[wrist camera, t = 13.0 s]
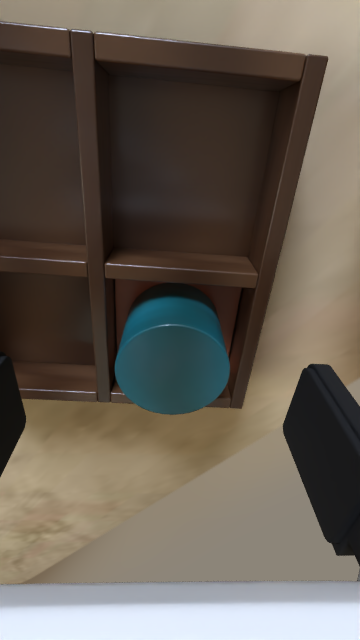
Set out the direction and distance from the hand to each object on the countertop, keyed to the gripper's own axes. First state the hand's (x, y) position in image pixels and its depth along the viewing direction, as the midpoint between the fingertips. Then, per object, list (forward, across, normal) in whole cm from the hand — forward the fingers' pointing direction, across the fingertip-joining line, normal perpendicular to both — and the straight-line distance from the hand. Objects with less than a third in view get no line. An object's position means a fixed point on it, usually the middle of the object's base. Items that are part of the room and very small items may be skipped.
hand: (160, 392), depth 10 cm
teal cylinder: (+5, 0, 0) cm, 5 cm away
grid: (+6, +2, -3) cm, 7 cm away
